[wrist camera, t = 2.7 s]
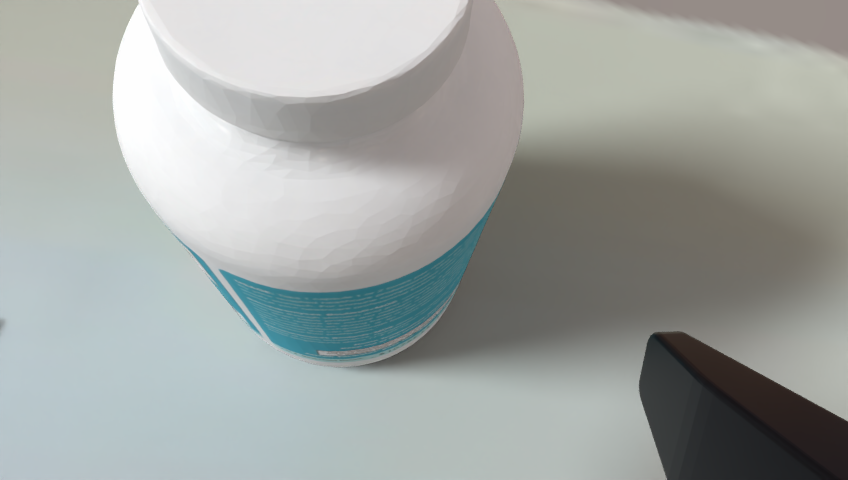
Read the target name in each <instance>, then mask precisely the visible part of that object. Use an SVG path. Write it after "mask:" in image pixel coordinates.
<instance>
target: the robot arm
mask: <svg viewBox="0 0 848 480" xmlns="http://www.w3.org/2000/svg"><path fill="white" fill-rule="evenodd" d="M639 392H640V398H641V401H642V404H643V407H644V410H645V413H646V416H647V420H648V423H649V426H650V429H651V432H652V435H653V438H654V441H655V444H656V447H657V450H658V453H659V456H660V459H661V462H662V465H663V468H664V472H665V475H666V478H667V480H848V421H846V420H844V419H842V418H841V417H839V416H837V415H835V414H833V413H831V412H829V411H828V410H826V409H824V408H822V407H820V406H818V405H817V404H815V403H813V402H811V401H809V400H807V399H806V398H804V397H802V396H800V395H798V394H796V393H794V392H793V391H791V390H789V389H787V388H785V387H783V386H782V385H780V384H778V383H776V382H774V381H772V380H771V379H769V378H767V377H765V376H763V375H761V374H759V373H758V372H756V371H754V370H752V369H750V368H748V367H747V366H745V365H743V364H741V363H739V362H737V361H736V360H734V359H732V358H730V357H728V356H726V355H724V354H723V353H721V352H719V351H717V350H715V349H713V348H712V347H710V346H708V345H706V344H704V343H702V342H701V341H699V340H697V339H695V338H693V337H691V336H689V335H688V334H686V333H684V332H679V331H676V332H655V333H653V334H652V335H651V336H650V338H649V340H648V342H647V347H646V352H645V356H644V361H643V366H642V371H641V375H640V381H639Z"/></svg>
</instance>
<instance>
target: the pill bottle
mask: <svg viewBox="0 0 848 480" xmlns="http://www.w3.org/2000/svg"><path fill="white" fill-rule="evenodd" d="M138 2H139V5H138V6H137V8H136V9H135V11H134V13H133V15H132V18H131V20H130V22H129V24H128V26H127V28H126V31H125V33H124V36H123V39H122V41H121V44H120V48H119V52H118V55H117V59H116V66H115V73H114V82H113V111H114V120H115V126H116V132H117V137H118V141H119V144H120V147H121V151H122V154H123V156H124V159H125V161H126V164H127V166H128V169H129V171H130V172H131V174H132V176H133V178H134V180H135V182H136V184H137V186H138V188H139V190H140V191H141V193H142V194H143V196H144V197H145V198H146V200H147V201H148V203H149V204H150V206H151V207H152V208H153V210H154V211H155V212H156V214H157V215H158V216H159V218H160V219H161V220H162V222H163V223H164V224H165V225H166V226H167V228H168V229H169V230H170V231H171V233H172V234H173V235H174V236H175V237H176V239H177V240H178V241H179V242H180V243H181V245H182V246H183V247H184V248H185V249H186V251H187V252H188V253H189V254H190V256H191V257H192V258H193V259H194V260H195V262H196V263H197V264H198V265H199V267H200V268H201V269H202V270H203V271H204V272H205V274H206V275H207V276H208V277H209V279H210V280H211V281H212V282H213V284H214V285H215V286H216V287H217V289H218V290H219V291H220V292H221V294H222V295H223V296H224V297H225V299H226V300H227V301H228V303H229V304H230V305H231V306H232V308H233V309H234V310H235V311H236V313H237V314H238V315H239V316H240V317H241V319H242V320H243V321H244V322H245V323H246V324H247V325H248V327H249V328H250V329H251V330H252V331H253V332H254V333H255V334H256V335H258V336H259V337H260V338H261V339H262V340H263V341H265V342H266V343H268V344H269V345H270V346H272V347H273V348H275V349H277V350H278V351H280V352H282V353H284V354H286V355H288V356H290V357H293V358H295V359H298V360H301V361H304V362H307V363H311V364H316V365H321V366H331V367H349V366H359V365H364V364H370V363H374V362H377V361H380V360H383V359H386V358H389V357H391V356H393V355H395V354H397V353H399V352H401V351H403V350H404V349H406V348H408V347H409V346H411V345H413V344H414V343H415V342H416V341H418V340H419V339H420V338H421V337H423V336H424V335H425V334H426V333H427V332H428V331H429V330H430V329H431V328H432V327H433V326H434V325H435V324H436V323H437V321H438V320H439V319H440V317H441V316H442V315H443V313H444V312H445V310H446V309H447V307H448V305H449V304H450V302H451V300H452V298H453V296H454V294H455V292H456V290H457V288H458V286H459V283H460V281H461V279H462V276H463V274H464V272H465V270H466V267H467V265H468V262H469V260H470V258H471V256H472V253H473V251H474V249H475V246H476V244H477V242H478V240H479V237H480V235H481V233H482V230H483V228H484V226H485V223H486V221H487V219H488V217H489V214H490V212H491V210H492V208H493V205H494V203H495V201H496V199H497V197H498V195H499V192H500V190H501V188H502V186H503V184H504V181H505V178H506V176H507V173H508V171H509V168H510V166H511V164H512V161H513V158H514V155H515V152H516V148H517V145H518V142H519V137H520V133H521V127H522V119H523V109H524V91H523V77H522V71H521V65H520V61H519V56H518V52H517V49H516V45H515V42H514V40H513V37H512V35H511V32H510V30H509V27H508V25H507V23H506V21H505V19H504V17H503V15H502V13H501V11H500V9H499V8H498V6H497V4H496V3H495V1H494V0H138Z"/></svg>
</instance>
